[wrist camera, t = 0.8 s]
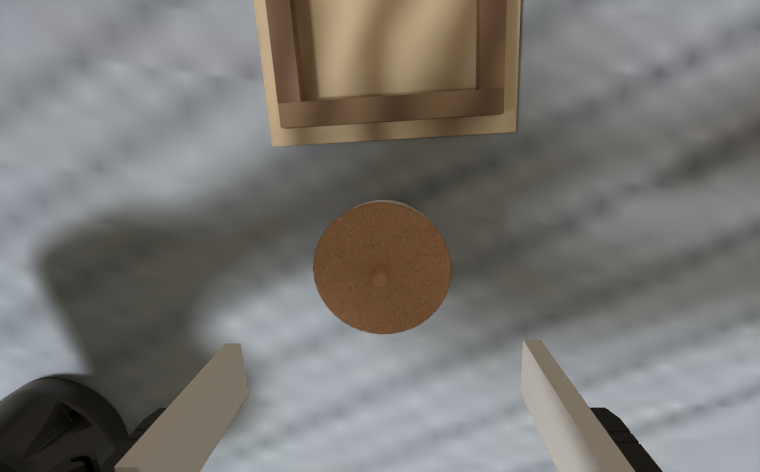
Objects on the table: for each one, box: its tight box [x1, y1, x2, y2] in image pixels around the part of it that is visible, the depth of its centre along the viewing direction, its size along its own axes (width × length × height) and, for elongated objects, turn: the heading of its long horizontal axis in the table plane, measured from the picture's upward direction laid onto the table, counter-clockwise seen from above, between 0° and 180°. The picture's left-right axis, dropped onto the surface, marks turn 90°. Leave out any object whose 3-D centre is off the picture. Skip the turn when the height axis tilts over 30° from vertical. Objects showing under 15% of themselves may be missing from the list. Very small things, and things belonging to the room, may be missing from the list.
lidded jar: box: [313, 200, 451, 334], centre depth 30 cm, size 11×11×9 cm
